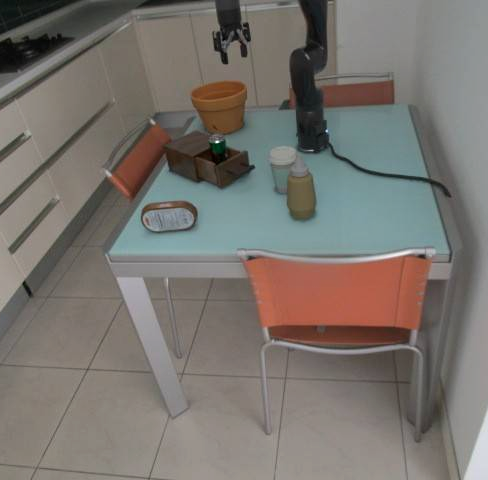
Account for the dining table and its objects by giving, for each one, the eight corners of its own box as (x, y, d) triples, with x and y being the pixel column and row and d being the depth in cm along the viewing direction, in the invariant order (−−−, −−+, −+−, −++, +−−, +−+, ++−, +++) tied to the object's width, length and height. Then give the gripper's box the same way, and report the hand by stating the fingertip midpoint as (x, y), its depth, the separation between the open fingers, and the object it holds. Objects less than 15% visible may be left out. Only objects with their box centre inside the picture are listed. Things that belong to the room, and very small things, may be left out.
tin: (200, 223, 128) (194, 197, 123) (199, 230, 125) (193, 203, 120) (146, 228, 128) (138, 202, 123) (144, 235, 126) (135, 209, 121)
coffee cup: (303, 182, 141) (301, 146, 134) (295, 197, 134) (292, 159, 127) (276, 180, 143) (273, 144, 136) (267, 194, 137) (263, 157, 130)
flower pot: (188, 138, 176) (180, 99, 167) (209, 116, 192) (202, 80, 183) (241, 139, 170) (235, 100, 161) (257, 117, 186) (253, 79, 177)
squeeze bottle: (297, 226, 123) (292, 164, 112) (282, 212, 128) (276, 153, 118) (323, 216, 125) (321, 155, 114) (307, 203, 131) (304, 144, 120)
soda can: (228, 176, 144) (221, 139, 137) (212, 175, 145) (205, 139, 138) (232, 168, 148) (226, 132, 141) (217, 167, 149) (210, 132, 142)
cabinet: (229, 165, 154) (225, 139, 149) (197, 182, 147) (192, 156, 141) (200, 154, 163) (195, 130, 157) (169, 170, 155) (163, 145, 150)
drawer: (263, 176, 144) (260, 155, 140) (234, 194, 137) (230, 172, 133) (221, 161, 155) (218, 141, 151) (192, 177, 148) (188, 156, 144)
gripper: (219, 12, 137) (227, 68, 147) (252, 2, 145) (258, 56, 154) (202, 10, 141) (211, 65, 151) (236, 1, 149) (242, 53, 159)
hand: (235, 60), depth 153 cm, fingers open, 8 cm apart
